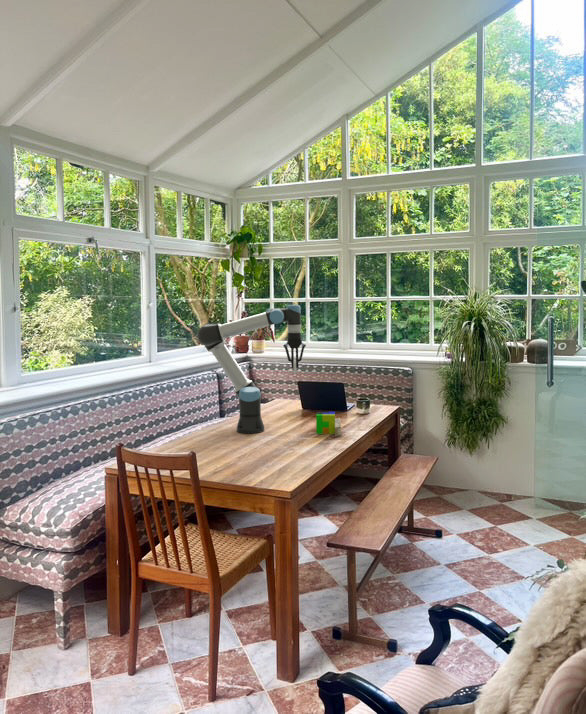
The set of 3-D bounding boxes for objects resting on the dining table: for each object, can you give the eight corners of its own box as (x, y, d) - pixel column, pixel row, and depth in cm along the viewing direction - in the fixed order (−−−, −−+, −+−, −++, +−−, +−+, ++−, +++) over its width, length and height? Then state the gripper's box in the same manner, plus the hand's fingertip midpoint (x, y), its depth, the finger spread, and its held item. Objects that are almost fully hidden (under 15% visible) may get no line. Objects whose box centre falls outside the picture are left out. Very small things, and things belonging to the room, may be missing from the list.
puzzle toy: (335, 429, 343) (334, 411, 342) (335, 433, 333) (335, 415, 332) (316, 429, 343) (316, 411, 342) (316, 433, 334) (316, 415, 332)
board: (335, 436, 327) (335, 426, 326) (335, 427, 349) (335, 418, 348) (340, 436, 327) (340, 426, 326) (340, 427, 348) (340, 418, 348)
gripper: (282, 332, 348) (283, 374, 351) (305, 332, 347) (306, 374, 350) (283, 331, 356) (284, 372, 358) (306, 331, 355) (306, 372, 357)
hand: (295, 373), depth 354 cm, fingers closed
